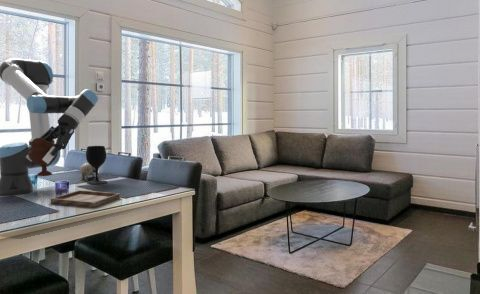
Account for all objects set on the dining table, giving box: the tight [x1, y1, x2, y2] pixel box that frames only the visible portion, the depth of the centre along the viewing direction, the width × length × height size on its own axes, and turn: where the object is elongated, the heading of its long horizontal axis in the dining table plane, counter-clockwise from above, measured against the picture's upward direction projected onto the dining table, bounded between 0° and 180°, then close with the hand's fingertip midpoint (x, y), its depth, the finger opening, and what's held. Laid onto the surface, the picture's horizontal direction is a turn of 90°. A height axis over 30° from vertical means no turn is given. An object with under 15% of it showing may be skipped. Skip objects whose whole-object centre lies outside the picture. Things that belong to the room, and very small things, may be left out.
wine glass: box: [85, 145, 108, 186], centre depth 205 cm, size 10×10×20 cm
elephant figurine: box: [79, 162, 101, 182], centre depth 218 cm, size 8×14×15 cm
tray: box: [50, 189, 121, 209], centre depth 165 cm, size 22×18×2 cm
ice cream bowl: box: [28, 138, 58, 177], centre depth 149 cm, size 11×11×15 cm
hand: (36, 160), depth 147 cm, fingers closed on ice cream bowl, 11 cm apart
